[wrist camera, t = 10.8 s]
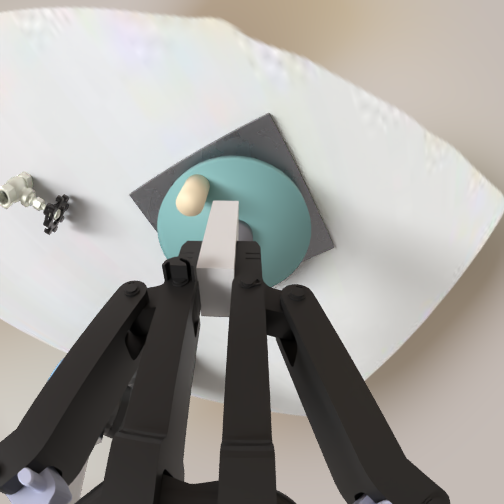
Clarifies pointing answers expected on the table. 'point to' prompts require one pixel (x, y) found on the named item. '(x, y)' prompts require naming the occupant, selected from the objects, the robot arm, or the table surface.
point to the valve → (33, 200)
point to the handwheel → (240, 211)
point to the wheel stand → (239, 144)
